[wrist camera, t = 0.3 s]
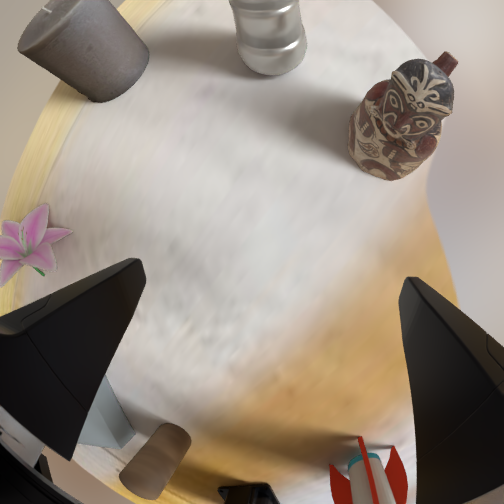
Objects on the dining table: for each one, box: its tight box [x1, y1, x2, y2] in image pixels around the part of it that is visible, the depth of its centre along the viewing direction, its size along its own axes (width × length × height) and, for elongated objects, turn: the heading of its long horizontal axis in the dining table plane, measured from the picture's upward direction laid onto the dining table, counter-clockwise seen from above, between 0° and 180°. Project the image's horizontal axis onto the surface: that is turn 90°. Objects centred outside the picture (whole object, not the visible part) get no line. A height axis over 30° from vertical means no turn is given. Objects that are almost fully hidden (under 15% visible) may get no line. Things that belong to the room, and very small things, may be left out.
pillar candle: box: [17, 0, 149, 103], centre depth 18 cm, size 10×10×15 cm
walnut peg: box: [119, 423, 191, 500], centre depth 20 cm, size 4×4×9 cm
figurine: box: [348, 52, 458, 181], centre depth 15 cm, size 7×7×12 cm
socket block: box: [77, 375, 135, 449], centre depth 25 cm, size 15×15×4 cm
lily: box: [0, 203, 73, 287], centre depth 24 cm, size 12×12×10 cm
